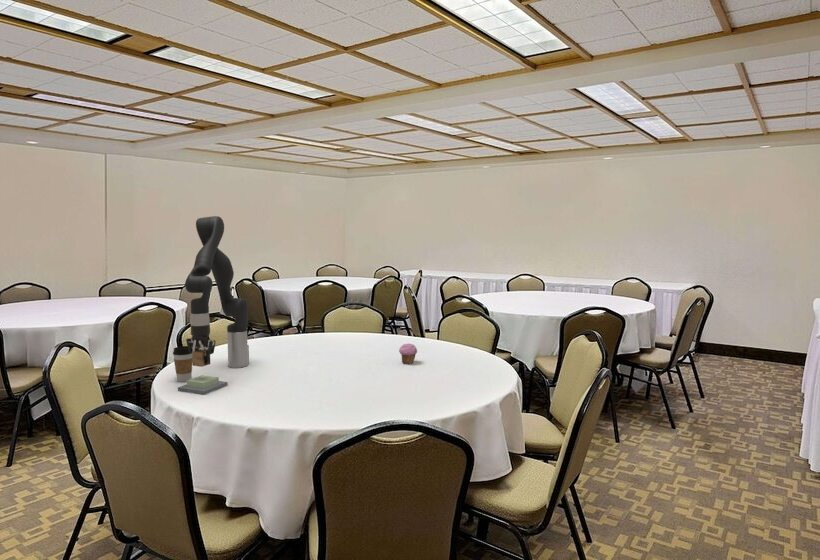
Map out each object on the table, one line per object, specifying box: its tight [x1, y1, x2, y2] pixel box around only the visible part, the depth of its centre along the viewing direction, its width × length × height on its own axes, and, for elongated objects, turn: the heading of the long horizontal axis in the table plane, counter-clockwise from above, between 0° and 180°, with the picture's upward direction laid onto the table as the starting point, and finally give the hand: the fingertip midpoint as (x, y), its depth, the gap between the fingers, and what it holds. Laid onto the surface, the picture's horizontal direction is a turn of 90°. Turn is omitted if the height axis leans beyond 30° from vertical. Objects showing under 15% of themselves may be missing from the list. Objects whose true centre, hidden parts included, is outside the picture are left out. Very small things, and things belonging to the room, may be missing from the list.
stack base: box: [177, 374, 229, 396], centre depth 234 cm, size 14×14×4 cm
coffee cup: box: [172, 345, 193, 383], centre depth 245 cm, size 8×8×15 cm
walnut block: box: [192, 348, 211, 368], centre depth 232 cm, size 5×5×6 cm
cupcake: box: [398, 343, 418, 365], centre depth 275 cm, size 9×9×10 cm
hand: (201, 363), depth 233 cm, fingers closed on walnut block, 5 cm apart
